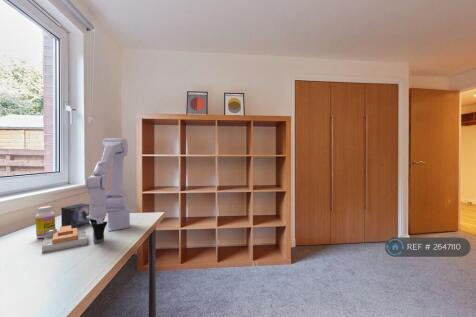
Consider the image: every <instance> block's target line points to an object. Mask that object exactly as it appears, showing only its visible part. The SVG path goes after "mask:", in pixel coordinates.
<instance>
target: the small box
mask: <svg viewBox="0 0 476 317" xmlns="http://www.w3.org/2000/svg"><path fill="white" fill-rule="evenodd" d="M60 208H61V211H60V212H61V226H60V227H63V226H70V225H71V229H72V228H77V229H78V228H81V227H83V226H87V225H90V220H89V219H90V218H88V219H87V218H86V216H90V203H89V204H88V203H78V204H73V205H68V206H62V207H60Z"/></svg>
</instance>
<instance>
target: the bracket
mask: <svg viewBox="0 0 476 317" xmlns="http://www.w3.org/2000/svg"><path fill="white" fill-rule="evenodd" d="M77 230H78V227H77V228H72V229H71V225H70V226H63V227H61V226H60V228H59V230H57V232H56V233H54V234H53V239H52V244H53V243H59V242H64V241H70V240H75V239H78V232H77Z"/></svg>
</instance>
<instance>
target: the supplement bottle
mask: <svg viewBox="0 0 476 317" xmlns="http://www.w3.org/2000/svg"><path fill="white" fill-rule="evenodd" d="M52 209H53V208H52V205H47V206H41V207H38V208H37V212H38V213H37V214H36V215H35V216H34V217H35V231H36V233H35V234H36V238H37V239H44V238H45V236H46V231H47V230H50V229H56V214H55V212H54V211H52Z"/></svg>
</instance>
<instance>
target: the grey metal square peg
mask: <svg viewBox="0 0 476 317" xmlns="http://www.w3.org/2000/svg"><path fill="white" fill-rule="evenodd" d="M93 223H95V222H93ZM92 236H93V238H92V239H93V244H94V245H98V244H103V243H105V234H104V235H103V239H101V240H96V237H95V232H94V229H93V228H92Z"/></svg>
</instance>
